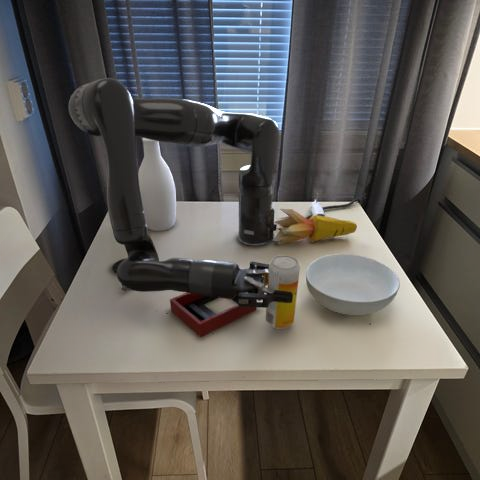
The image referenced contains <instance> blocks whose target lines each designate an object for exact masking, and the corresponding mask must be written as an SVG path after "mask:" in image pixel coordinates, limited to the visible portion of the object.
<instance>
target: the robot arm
mask: <svg viewBox="0 0 480 480" xmlns="http://www.w3.org/2000/svg"><path fill="white" fill-rule="evenodd" d="M131 95H132V94H131V93H130V92H129V90H128V89H127V87H126V86H125V85H124V84H123V83H122V82H121V81H119V80H117V79H115V78H111V77H105V78H100V79H96V80H93V81H91V82H87V83H84V84H82V85H81V86H79V87H78V88H76V90H74V91H73V93H72V94H71V95H70V99H69V101H68V113H69V116H70V117H71V119H72V121H73V122H74V125H76V126H77V127H78V129H80V130H82V132H84V133H86V134H88V135H90V136H94V137H101V138H102V141H103V144H104V149H105V153H106V158H107V159H106V160H107V183H106V184H107V185H106V205H107V206H106V208H107V212H108V216H109V221H110V226H111V230H112V233H113V237H114V239H115V242H117V243H118V244H119V245H123V246H124V249H125V251H126V254H127V257H126V259H125V258H124V259H125V260H123V261H122V262H121V263H120V265H119V266H118V269H117V273H116V278H117V280H118V282H119V283H120V284H121V286H122V285H123V286H124V287H126V288H128V289H127V290H130V291H133V292H141V293H149V292H150V293H151V292H164V291H173V292H181V293H194V294H197V295H202V296H209V297H217V298H218V299H226V300H232V299H234V298H235V296H236V295H237V296H238V306H240V307H257V308H261V309H266V308H267V307H268V305H269V304H270V303H272V302H282V303H292V300H293V293H292V292H287V291H279V290H275V291H273V290H271V289H269V288H268V273H269V264H270V263H263V262H258V261H249V267H248V268H240V266H239V264H238V263H236V262H228V261H222V260H221V261H219V260H211V259H193V258H192V259H190V258H183V257H171V258H169V259H166V260H160V258H159V255H158V251H157V249H156V246H155V244H154V242H153V241H154V240H153V239H152V237H151V235H150V233H149V229H148V228H147V223H146V218H145V213H144V208H143V203H142V198H141V192H140V186H139V176H138V172H139V166H138V149H137V148H138V147H137V138H141V139H142V138H146V139H150V140H155V141H159V143H166V144H171V145H174V146H175V145H176V146H181V147H182V146H183V147H190V148H206V147H209V146H212V145H213V146H214V145H222V146H226V147H229V148H232V149H235V150H239V151H241V152H243V153H245V154H249V155H251V156H250V158H251V159H250V164H248V165H244V166H243V167H241V168H240V169H239V171H238V231H237V232H238V237H237V239H238V242H240V243H241V244H242V245H246V246H248V247H249V246H250V247H262V246H266V245H267V244H269V243H271V242H273V241H274V240H273V239H274V232H276V231H277V230H278V229H277V228H278V225H275V224H274V221H275V212H276V211H275V208H273V197H274V196H273V195H274V177H275V174H276V172H277V169H278V168H277V167H278V159H279V150H280V142H281V139H280V138H281V135H280V133H281V131H280V127H279V124H278V123H277V122H276V121H275V119H272V118H269V117H266V116H262V115H258V114H254V113H247V112H246V113H244V112H243V113H242V112H240V113H239V112H226V111H221V110H219V109H217V108H215V107H213V106H210V105H208V104H205V103H201V102H198V101H194V100H189V99H184V98H182V99H181V98H169V97H168V98H167V97H166V98H165V97H160V98H159V97H157V98H155V97H153V98H136V97H132V96H131ZM356 202H357V203H361V202H362V199H360V198H358V197H357V198H354V199H352V200H351V201H349V202H348V203H345V204H337V205H327V206H322V208H323V211H325V210H330V209H341V208H347V207H350V206H352V205H353V204H355V203H356ZM311 216H313V215H312V213H311V214H309V215H308V216H305V218H306V219H308V220H309V219H310V217H311ZM256 300H257V302H256Z"/></svg>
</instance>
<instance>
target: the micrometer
mask: <svg viewBox="0 0 480 480" xmlns="http://www.w3.org/2000/svg"><path fill="white" fill-rule="evenodd" d="M126 258H127V257H126ZM126 258H122V259H119V260H117V261H116V262H114V264H113V265H112V267H111V269H112V271H113V273H115V274H117V269H118V266H119V265H120V263H121V262H122V261H123V260H125V259H126ZM120 288H121V291H122V292H127V290H129V289H128V288H126V287H124V286H123V285H122V284H121V287H120Z"/></svg>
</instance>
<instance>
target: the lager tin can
mask: <svg viewBox="0 0 480 480" xmlns="http://www.w3.org/2000/svg"><path fill="white" fill-rule="evenodd" d="M268 264H269V269H268V271H269V273H268V285H267V288H269V289H271V290H273V291H275V290H279V291H287V292H292V293H293V300H292V303H282V302H272V303H270V304H269V305H268V307H267V308H265V322H266V323H267V324H268V325H269V327H271V328H273V329H274V330H275V329H276V330H286V329H288V328H289V327H291V326H292V325H293V323H294V322H295V314H296V306H297V305H296V304H297V297H298V289H299V288H298V287H299V279H300V273H301V272H300V271H301V265H300V264H299V260H298V259H297V257H295V256H293V255H288V254H278V255H275V256H274V257H272V258H271V260H270V262H269V263H268Z"/></svg>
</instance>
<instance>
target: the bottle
mask: <svg viewBox="0 0 480 480" xmlns="http://www.w3.org/2000/svg"><path fill="white" fill-rule="evenodd" d="M141 141H142V143H143V159H142V161H141V164H140V166H139V167H138V176H139V186H140V192H141V198H142V203H143V208H144V213H145V218H146V223H147V229H148V230H150V231H153V232H156V231H157V232H162V231H168V230H170V229H172V228H173V227H174V226H175V224H176V218H177V217H176V216H177V191H176V184H175V180H174V177H173V174H172V172H171V169H170V167H169V166H168V164H167V163H166V161H165V160H164V158H163V157H162V154H161V148H160V142H159V141H155V140H150V139H146V138H141Z"/></svg>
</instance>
